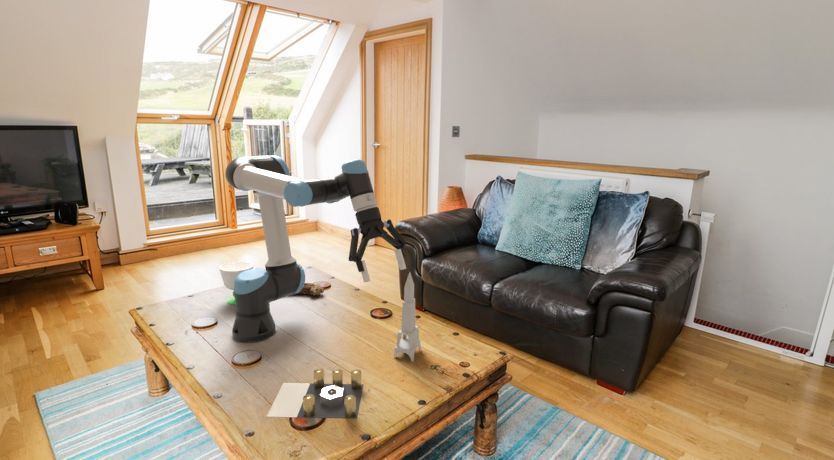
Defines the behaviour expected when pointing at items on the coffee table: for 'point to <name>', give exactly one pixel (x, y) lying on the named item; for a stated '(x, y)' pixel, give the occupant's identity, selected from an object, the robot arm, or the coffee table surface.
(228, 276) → the cup
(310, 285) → the sculpture
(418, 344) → the sculpture
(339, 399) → the nut
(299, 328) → the coffee table surface
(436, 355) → the coffee table surface
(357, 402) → the mat
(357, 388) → the spacers
